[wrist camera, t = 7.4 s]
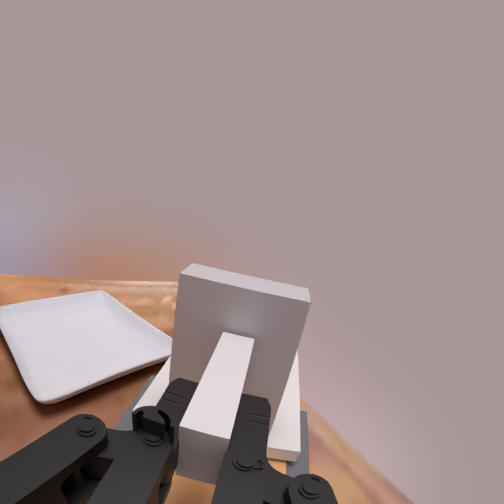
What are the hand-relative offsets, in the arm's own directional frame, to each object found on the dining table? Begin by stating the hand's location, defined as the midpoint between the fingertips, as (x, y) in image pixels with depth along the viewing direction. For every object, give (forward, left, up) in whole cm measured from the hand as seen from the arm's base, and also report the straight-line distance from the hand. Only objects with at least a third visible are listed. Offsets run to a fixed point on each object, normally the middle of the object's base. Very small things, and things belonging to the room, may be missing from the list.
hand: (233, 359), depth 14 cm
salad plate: (-24, -13, -17) cm, 32 cm away
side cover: (-7, +3, -6) cm, 10 cm away
